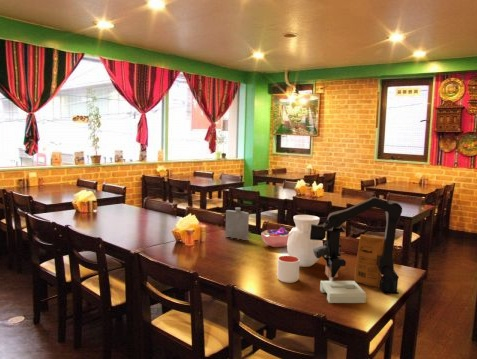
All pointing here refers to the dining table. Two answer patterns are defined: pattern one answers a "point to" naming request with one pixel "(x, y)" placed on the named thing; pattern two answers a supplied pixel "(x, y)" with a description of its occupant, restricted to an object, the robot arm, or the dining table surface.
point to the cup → (288, 269)
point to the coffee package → (368, 261)
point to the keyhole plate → (343, 292)
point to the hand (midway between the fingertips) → (331, 275)
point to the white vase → (303, 240)
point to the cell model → (276, 237)
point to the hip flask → (237, 224)
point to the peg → (329, 272)
